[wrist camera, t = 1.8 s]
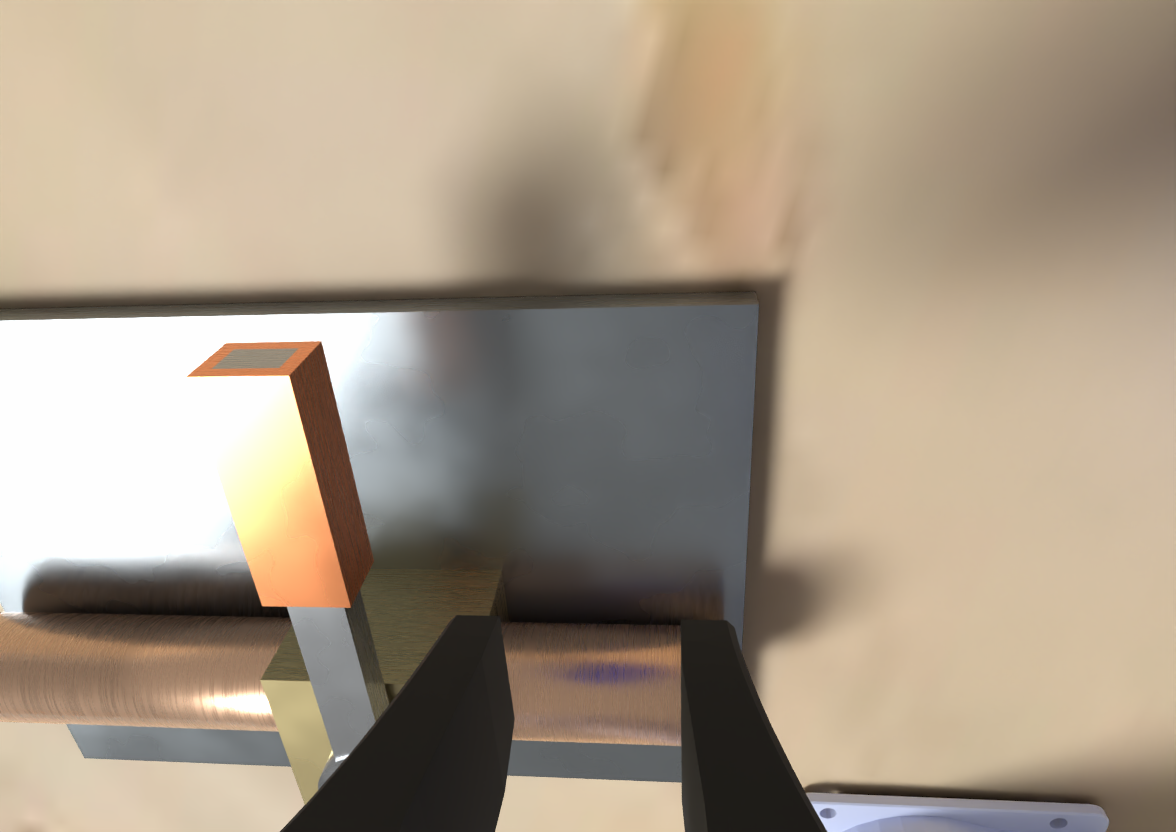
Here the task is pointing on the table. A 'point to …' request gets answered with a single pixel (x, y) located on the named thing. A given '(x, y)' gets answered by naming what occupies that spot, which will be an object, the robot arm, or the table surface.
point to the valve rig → (380, 518)
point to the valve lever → (297, 516)
